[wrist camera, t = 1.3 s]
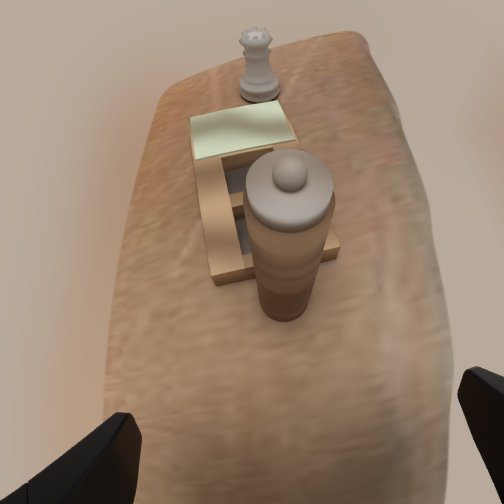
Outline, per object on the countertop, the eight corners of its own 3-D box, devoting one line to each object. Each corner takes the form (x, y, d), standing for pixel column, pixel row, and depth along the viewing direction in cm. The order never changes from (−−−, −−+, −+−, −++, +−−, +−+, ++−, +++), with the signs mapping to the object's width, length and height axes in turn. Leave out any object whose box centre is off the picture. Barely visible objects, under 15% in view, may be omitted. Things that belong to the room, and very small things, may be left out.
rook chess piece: (236, 103, 32) (226, 41, 25) (244, 81, 34) (237, 23, 27) (277, 106, 31) (275, 41, 24) (282, 83, 33) (280, 24, 26)
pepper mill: (313, 315, 22) (359, 193, 9) (265, 326, 22) (248, 216, 9) (301, 270, 23) (322, 119, 11) (255, 281, 23) (228, 135, 11)
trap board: (336, 258, 23) (341, 245, 21) (216, 286, 23) (210, 274, 21) (279, 115, 31) (279, 98, 29) (192, 132, 30) (187, 116, 28)
